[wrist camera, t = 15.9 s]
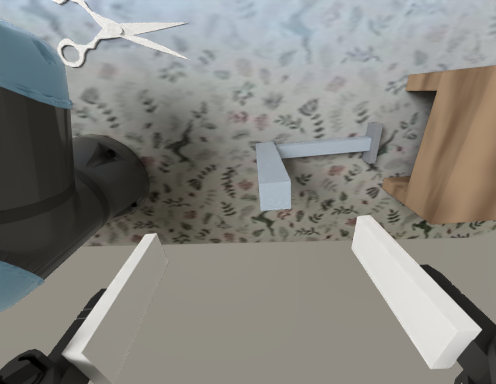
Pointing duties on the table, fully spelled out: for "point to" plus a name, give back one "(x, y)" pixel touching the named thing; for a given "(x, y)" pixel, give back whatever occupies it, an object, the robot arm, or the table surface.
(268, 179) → the push tool
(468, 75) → the wooden arch block
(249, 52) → the table surface
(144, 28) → the scissors
